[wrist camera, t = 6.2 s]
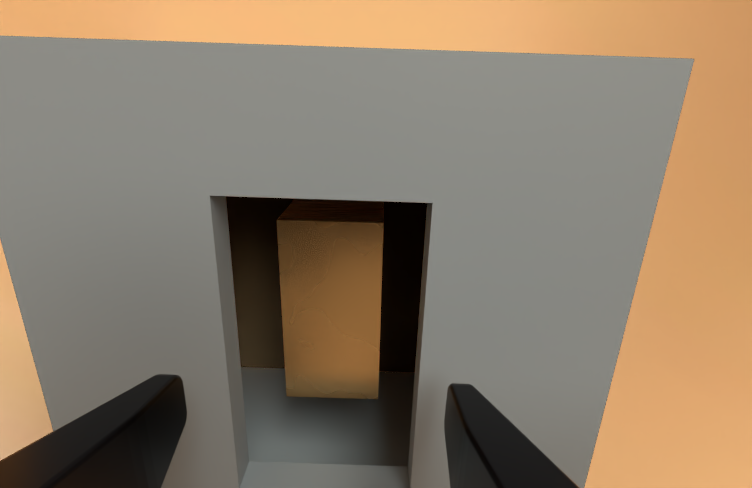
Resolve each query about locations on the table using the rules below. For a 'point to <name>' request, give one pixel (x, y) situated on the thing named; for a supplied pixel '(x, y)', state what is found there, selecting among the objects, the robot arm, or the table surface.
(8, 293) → the table surface
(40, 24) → the table surface
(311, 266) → the block
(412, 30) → the table surface
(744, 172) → the table surface
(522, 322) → the box
